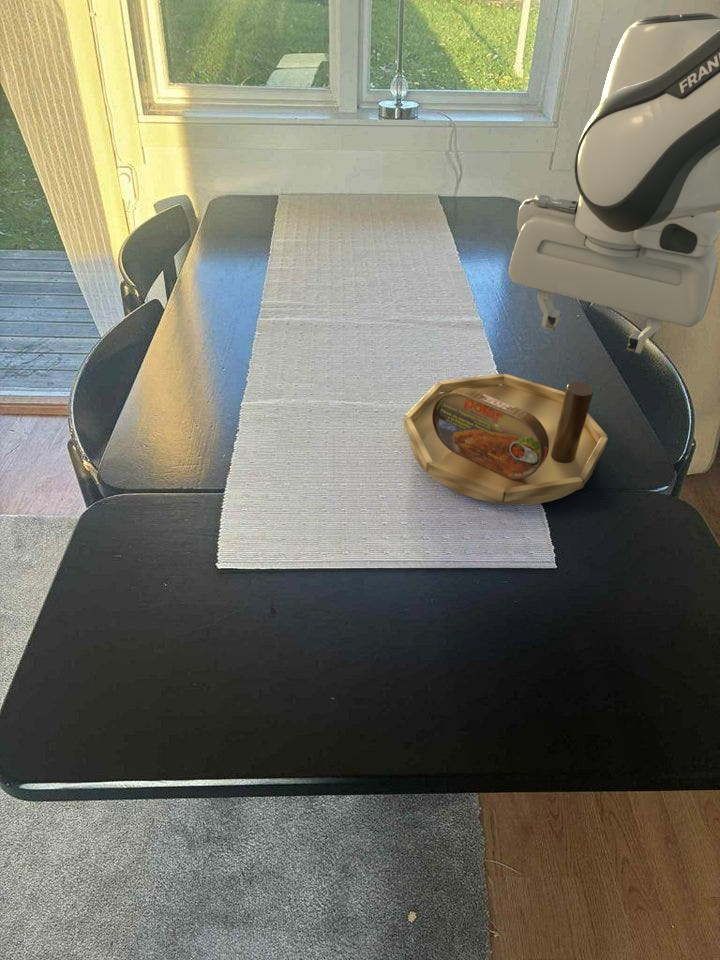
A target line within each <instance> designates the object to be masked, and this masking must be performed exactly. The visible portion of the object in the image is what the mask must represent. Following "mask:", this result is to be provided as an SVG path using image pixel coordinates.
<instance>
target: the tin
mask: <svg viewBox="0 0 720 960" xmlns="http://www.w3.org/2000/svg"><path fill="white" fill-rule="evenodd" d="M432 421H433V426H434V429H435V432H436V434H437V436H438V437H439V439H440V441H441V442H442V443H443V444H444V445H445V446H446V447H447V448H448V449H449V450H451V451H452V452H454V453H456V454H458V455H460V456H462V457H464V458H466V459H469V460H471V461H473V462H475V463H477V464H479V465H481V466H483V467H485V468H487V469H489V470H491V471H494V472H496V473H498V474H500V475H502V476H504V477H507V478H510V479H524V478H527V477H529V476H531V475H532V474H534V473H535V472H536V470H537V469H538V468H539V467H540V466H541V465H542V464H543V463H544V461H545V460H546V458H547V455H548V451H549V439H548V435H547V432H546V430H545V428H544V427H543V425H542V424H541V422H540V421H539V420H538V419H537V418H536V417H535V416H533V415H532V414H531V413H529V412H527V411H525V410H522V409H520V408H518V407H515V406H513V405H510V404H508V403H506V402H503V401H501V400H498V399H496V398H493V397H491V396H489V395H486V394H484V393H482V392H479V391H477V390H474V389H471V388H459V389H456V390H454V391H452V392H450V393H448V394H446V395H444V396H442V397H441V398H440V399H439V400H438V401H437V402H436V404H435V406H434V408H433V413H432Z"/></svg>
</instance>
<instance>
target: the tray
mask: <svg viewBox="0 0 720 960" xmlns="http://www.w3.org/2000/svg"><path fill="white" fill-rule="evenodd" d="M459 388H471V389H474V390H477V391H479V392H482V393H484V394H486V395H489V396H491V397H493V398H496V399H498V400H501V401H503V402H506V403H508V404H510V405H513V406H515V407H518V408H520V409H522V410H525V411H527V412H529V413H531V414H532V415H533V416H535V417H536V418H537V419H538V420H539V421H540V422H541V424H542V425H543V427H544V428H545V430H546V432H547V435H548V439H549V451H548V455H547V458H546V460H545V461H544V463H543V464H542V465H541V466H540V467H539V468H538V469H537V470H536V472H535V473H534V474H532V475H531V476H529V477H527V478H524V479H510V478H507V477H504V476H502V475H500V474H498V473H496V472H494V471H491V470H489V469H487V468H485V467H483V466H481V465H479V464H477V463H475V462H473V461H471V460H469V459H466V458H464V457H462V456H460V455H458V454H456V453H454V452H452V451H451V450H449V449H448V448H447V447H446V446H445V445H444V444H443V443H442V442H441V441H440V439H439V437H438V436H437V434H436V432H435V429H434V426H433V421H432V413H433V408H434V406H435V404H436V402H437V401H438V400H439V399H440V398H441V397H442V396H444V395H446V394H448V393H450V392H452V391H454V390H456V389H459ZM593 395H594V388H593V387H592V386H591V385H590V384H588V383H587V382H583V381H572V382H570V383H568V384H567V386H566V389H565V391H564V390H563V391H562V390H560V389H556V388H553V387H550V386H547V385H544V384H541V383H537V382H534V381H530V380H528V379H524V378H521V377H518V376H515V375H511V374H508V373H495V374H487V375H480V376H471V377H465V378H464V377H463V378H455V379H448V380H440V381H436V383H434V385H433V386H432V387H431V388H430V389H429V390H428V391H427V392H426V393H425V394H424V395H423V397H421V399H419V401H417V402H416V404H414V406H413V407H412V408H411V409H409V411H408V412H406V414H405V415H404V419H403V427H404V429H405V431H406V434H407V435H408V437H409V444H410V449H411V451H412V455H413V456H414V458H415V460H416V462H417V463H418V465H419V466H420V467H421V468H422V469H423V471H425V472H426V473H427V474H428V475H429V476H430V477H432V479H434V480H435V481H437V482H438V483H440V484H441V485H443V486H445V487H447V488H448V489H450V490H452V491H454V492H457V493H458V494H461V495H463V496H465V497H469V498H473V499H474V500H475V499H476V500H479V501H482V502H483V501H484V502H488V503H493V504H498V505H499V504H500V505H512V506H513V505H514V506H519V505H520V506H525V505H526V506H527V505H536V504H537V505H538V504H543V503H548V502H552V501H555V500H559V499H562V498H564V497H566V496H569V495H571V494H573V493H575V491H581V489H583V488H584V486H585V484H586V483H587V482H588V481H589V479H590V478H591V476H592V475H593V473H594V471H595V468H596V466H597V463H598V462H599V459H600V457H601V455H602V453H603V452H604V450H605V448H606V446H607V443H608V440H609V438H608V435H607V434H606V432H605V431H604V430H603V428H602V427H600V425H598V423H597V422H596V421H595V419H594V418H593V417H592V416H591V415H590V414H589V410H590V406H591V403H592V398H593Z"/></svg>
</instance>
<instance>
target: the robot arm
mask: <svg viewBox="0 0 720 960" xmlns="http://www.w3.org/2000/svg"><path fill="white" fill-rule="evenodd" d="M604 82H605V83H604V86H603V90H602V93H601V98H600V102H599V105H598V106H597V108H596V109H595V110H594V112H593V113H592V115H591V117H590V118H589V120H588V121H587V123H586V125H585V127H584V129H583V132H582V134H581V136H580V139H579V141H578V144H577V148H576V152H575V157H574V158H575V159H574V178H575V183H576V187H577V189H578V192H579V199H578V201H576V200H571V199H566V198H555V197H551V196H549V195H546V194H536V195H535V197H530V198H528V199H526V200H524V201H523V202H522V204H521V205H520V207H519V209H518V215H517V220H516V227H517V228H516V229H517V231H518V233H519V234H518V235H517V239H516V241H515V243H514V247H513V251H512V254H511V258H510V261H509V267H508V275H509V278H510V280H511V282H512V283H513V284H515V285H519V286H523V287H527V288H531V289H535V290H537V294H536V300H537V303H538V305H539V307H540V311H541V313H542V315H543V316H542V320H541V321H542V322H541V326H540V327H541V328H542V329H546V330H551V331H556V329H557V328H558V326H559V323H560V318H561V314H562V310H559V309H556V308H555V306H554V302H553V299H552V297H553V296H554V295H559V296H562V297H566V298H570V299H574V300H577V301H582V302H586V303H590V304H593V305H598V306H603V307H606V308H610V309H614V310H617V311H622V312H626V313H630V314H634V315H638V316H642V317H646V318H647V319H646V323H645V326H646V327H645V328H644V329H643V330H642V331H639V330H635V329H634V330H633V331H632V333H631V334H630V336H629V338H628V344H627V346H626V349H625V351H627V352H631V353H635V354H637V355H640V354H641V353H642V351H643V349H644V348H645V344H646V341H647V340H648V339H649V338H651V337H652V336H653V335H655V334H656V332H658V331H659V330H660V328H661V327H662V325H663V323H664V322H666V323H670V324H672V325H673V324H674V325H678V326H682V327H686V328H691V327H694V326H695V325H697V324H699V323H700V322H702V320H703V318H704V316H705V315H706V311H707V309H708V306H709V305H710V300H711V297H712V294H713V291H714V286H715V281H716V278H717V277H716V276H717V271H718V265H719V256H718V254H719V253H718V251H717V248H716V246H715V243H716V242H717V240H718V238H719V235H720V215H718V214H717V213H715V212H718V211H720V17H719V16H717V15H714V14H712V13H707V12H695V13H682V14H672V15H671V14H666V15H655V16H647V17H643V18H641V19H638V20H637V21H636V22H634V23H632V24H631V25H629V26H628V27H627V28H626V30H625V31H624V32H623V34H622V37H620V40H619V43H618V45H617V46H616V50H615V52H614V54H613V57H612V59H611V63H610V66H609V69H608V72H607V75H606V78H605V81H604Z"/></svg>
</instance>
